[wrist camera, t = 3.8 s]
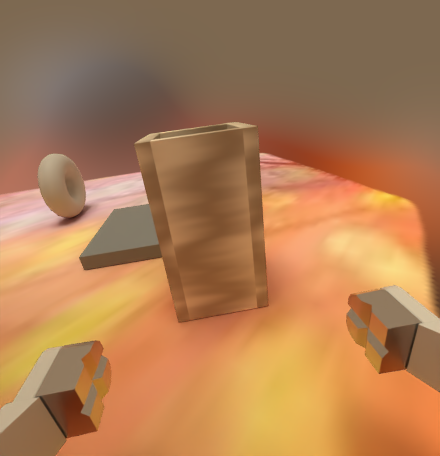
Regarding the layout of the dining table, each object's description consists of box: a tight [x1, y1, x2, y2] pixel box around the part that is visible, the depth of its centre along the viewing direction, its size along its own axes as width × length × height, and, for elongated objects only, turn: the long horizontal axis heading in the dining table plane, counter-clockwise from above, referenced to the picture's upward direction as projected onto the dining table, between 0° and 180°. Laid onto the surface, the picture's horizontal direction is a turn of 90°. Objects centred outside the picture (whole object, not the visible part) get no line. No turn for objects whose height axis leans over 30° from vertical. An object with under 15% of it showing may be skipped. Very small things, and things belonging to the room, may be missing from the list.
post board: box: [79, 204, 162, 270], centre depth 31 cm, size 18×14×10 cm
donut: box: [38, 154, 86, 218], centre depth 41 cm, size 10×4×10 cm, turn 8°
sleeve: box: [134, 122, 268, 322], centre depth 19 cm, size 6×6×12 cm
